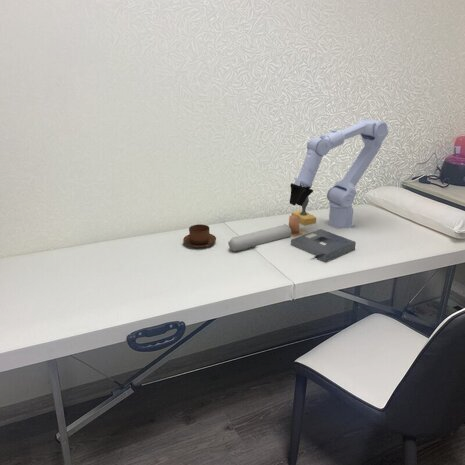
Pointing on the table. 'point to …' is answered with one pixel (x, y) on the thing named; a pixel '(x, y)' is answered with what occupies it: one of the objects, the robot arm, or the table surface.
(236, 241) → the tube
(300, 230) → the tan square tile
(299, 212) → the rubber stamp
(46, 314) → the table surface
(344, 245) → the grey square slab
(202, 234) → the cup and saucer
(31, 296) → the table surface
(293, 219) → the peg
